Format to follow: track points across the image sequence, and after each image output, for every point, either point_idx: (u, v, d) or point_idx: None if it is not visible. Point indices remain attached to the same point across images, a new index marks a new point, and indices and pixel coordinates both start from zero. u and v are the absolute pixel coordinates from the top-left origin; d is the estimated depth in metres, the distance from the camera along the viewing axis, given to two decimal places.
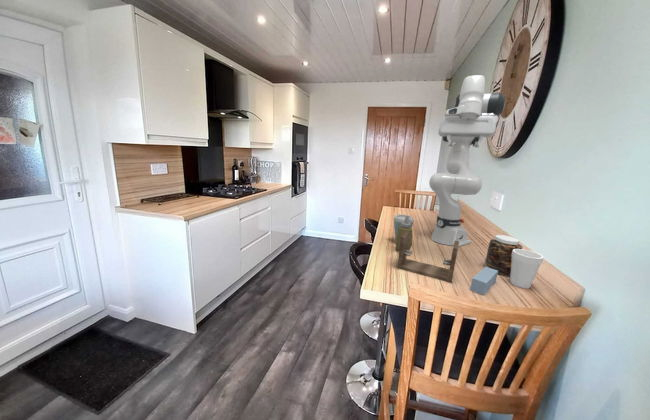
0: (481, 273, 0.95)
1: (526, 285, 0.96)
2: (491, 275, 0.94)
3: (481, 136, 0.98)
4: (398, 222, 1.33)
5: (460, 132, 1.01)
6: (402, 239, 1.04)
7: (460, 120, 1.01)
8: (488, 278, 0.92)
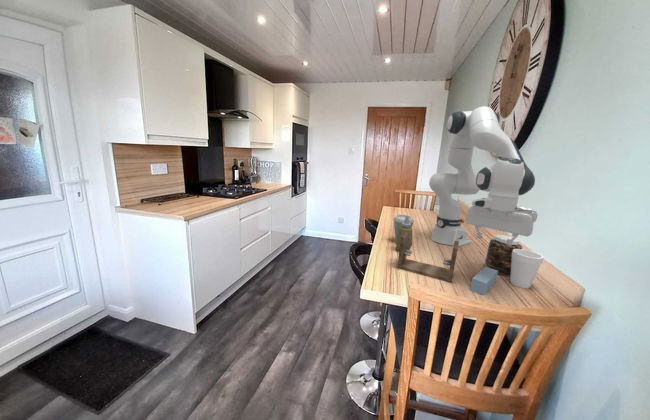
0: (481, 273, 0.95)
1: (526, 285, 0.96)
2: (491, 275, 0.94)
3: (514, 235, 0.86)
4: (398, 222, 1.33)
5: (489, 227, 0.91)
6: (402, 239, 1.04)
7: (490, 212, 0.90)
8: (488, 278, 0.92)
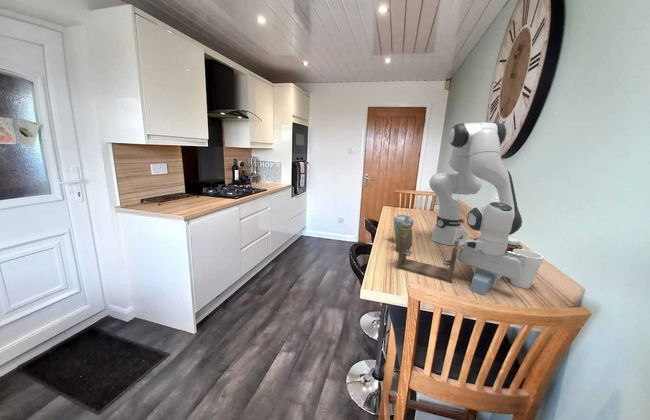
0: (481, 273, 0.95)
1: (526, 285, 0.96)
2: (491, 275, 0.94)
3: (498, 276, 0.91)
4: (398, 222, 1.33)
5: (480, 267, 0.95)
6: (402, 239, 1.04)
7: (481, 254, 0.94)
8: (488, 278, 0.92)
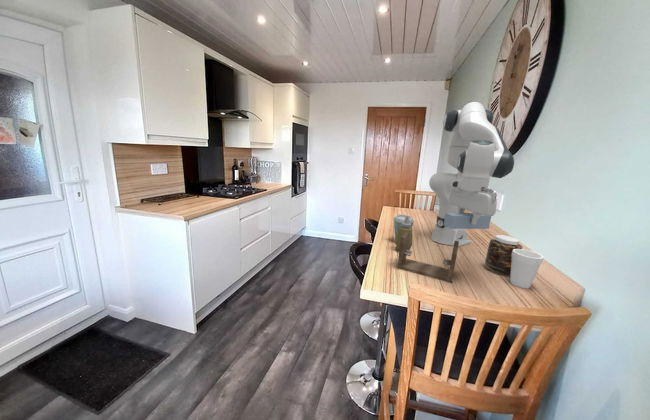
0: (463, 213, 0.96)
1: (526, 285, 0.96)
2: (473, 215, 0.93)
3: (474, 214, 0.90)
4: (398, 222, 1.33)
5: (462, 207, 0.96)
6: (402, 239, 1.04)
7: (463, 193, 0.95)
8: (464, 215, 0.93)
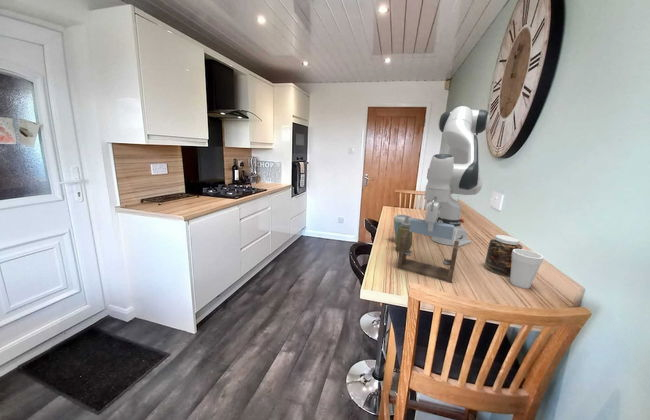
0: None
1: (526, 285, 0.96)
2: None
3: None
4: (398, 222, 1.33)
5: None
6: (402, 239, 1.04)
7: None
8: (423, 221, 1.01)
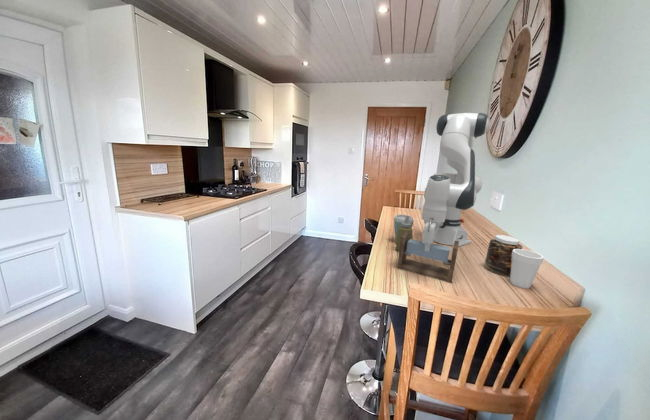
0: None
1: (526, 285, 0.96)
2: None
3: None
4: (398, 222, 1.33)
5: None
6: (402, 239, 1.04)
7: None
8: (420, 244, 1.04)
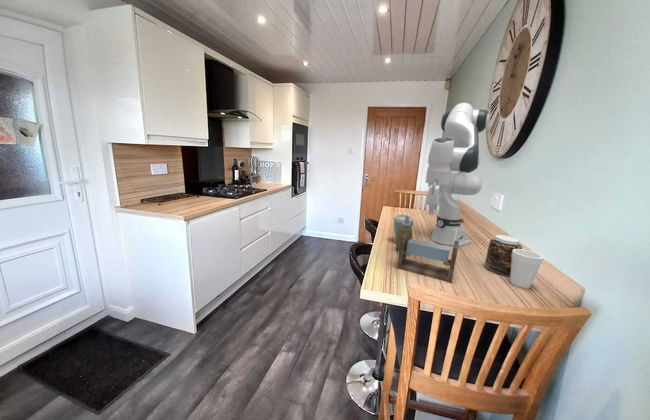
0: (426, 243, 1.05)
1: (526, 285, 0.96)
2: (429, 246, 1.02)
3: None
4: (398, 222, 1.33)
5: None
6: (402, 239, 1.04)
7: None
8: (420, 244, 1.04)
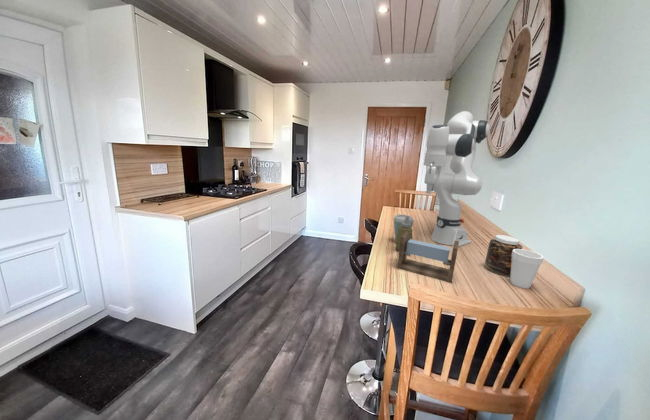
0: (426, 243, 1.05)
1: (526, 285, 0.96)
2: (429, 246, 1.02)
3: None
4: (398, 222, 1.33)
5: None
6: (402, 239, 1.04)
7: None
8: (420, 244, 1.04)
